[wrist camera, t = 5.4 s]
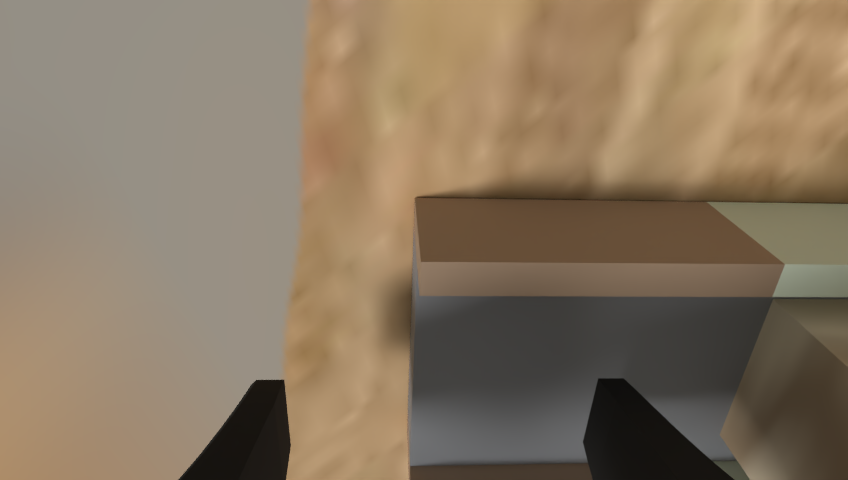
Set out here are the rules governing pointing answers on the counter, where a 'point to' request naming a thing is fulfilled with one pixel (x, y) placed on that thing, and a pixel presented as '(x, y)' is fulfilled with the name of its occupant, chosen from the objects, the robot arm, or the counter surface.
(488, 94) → the counter surface
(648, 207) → the board
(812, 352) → the maple block
